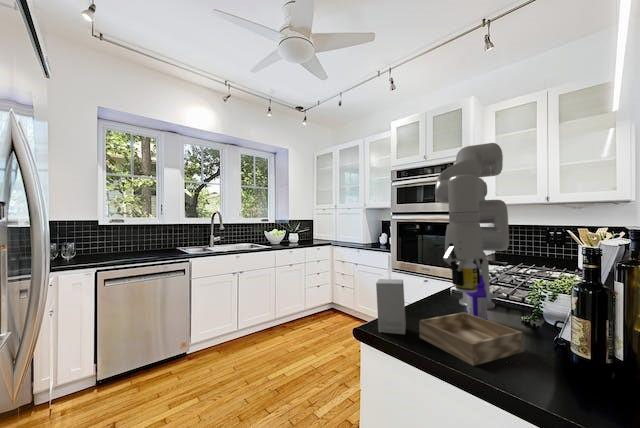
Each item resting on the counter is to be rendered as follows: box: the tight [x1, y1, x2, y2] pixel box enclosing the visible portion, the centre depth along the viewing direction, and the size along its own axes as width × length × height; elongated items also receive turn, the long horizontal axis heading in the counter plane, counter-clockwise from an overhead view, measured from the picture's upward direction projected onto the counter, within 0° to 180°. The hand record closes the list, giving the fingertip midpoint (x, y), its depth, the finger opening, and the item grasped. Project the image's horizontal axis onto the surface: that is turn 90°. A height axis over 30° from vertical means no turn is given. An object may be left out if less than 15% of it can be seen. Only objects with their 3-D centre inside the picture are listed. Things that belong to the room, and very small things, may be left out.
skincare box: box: [375, 278, 407, 335], centre depth 88 cm, size 8×7×16 cm
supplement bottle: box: [455, 258, 477, 293], centre depth 78 cm, size 5×5×10 cm
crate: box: [418, 311, 525, 367], centre depth 77 cm, size 18×18×5 cm
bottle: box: [466, 270, 488, 320], centre depth 94 cm, size 7×6×17 cm
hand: (466, 283), depth 78 cm, fingers closed on supplement bottle, 5 cm apart
